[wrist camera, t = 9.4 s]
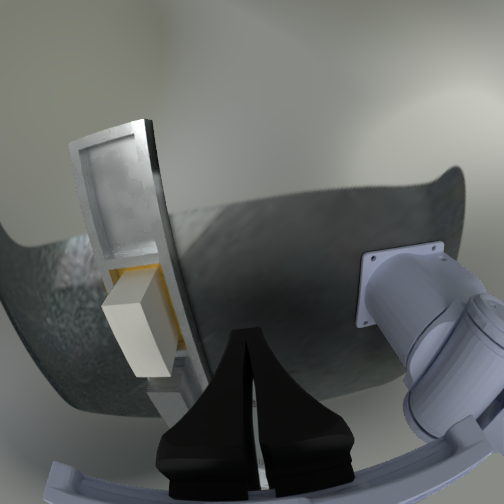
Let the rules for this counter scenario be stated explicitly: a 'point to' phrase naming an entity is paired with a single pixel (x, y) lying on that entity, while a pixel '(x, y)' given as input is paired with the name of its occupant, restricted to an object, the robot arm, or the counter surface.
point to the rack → (139, 243)
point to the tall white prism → (143, 322)
